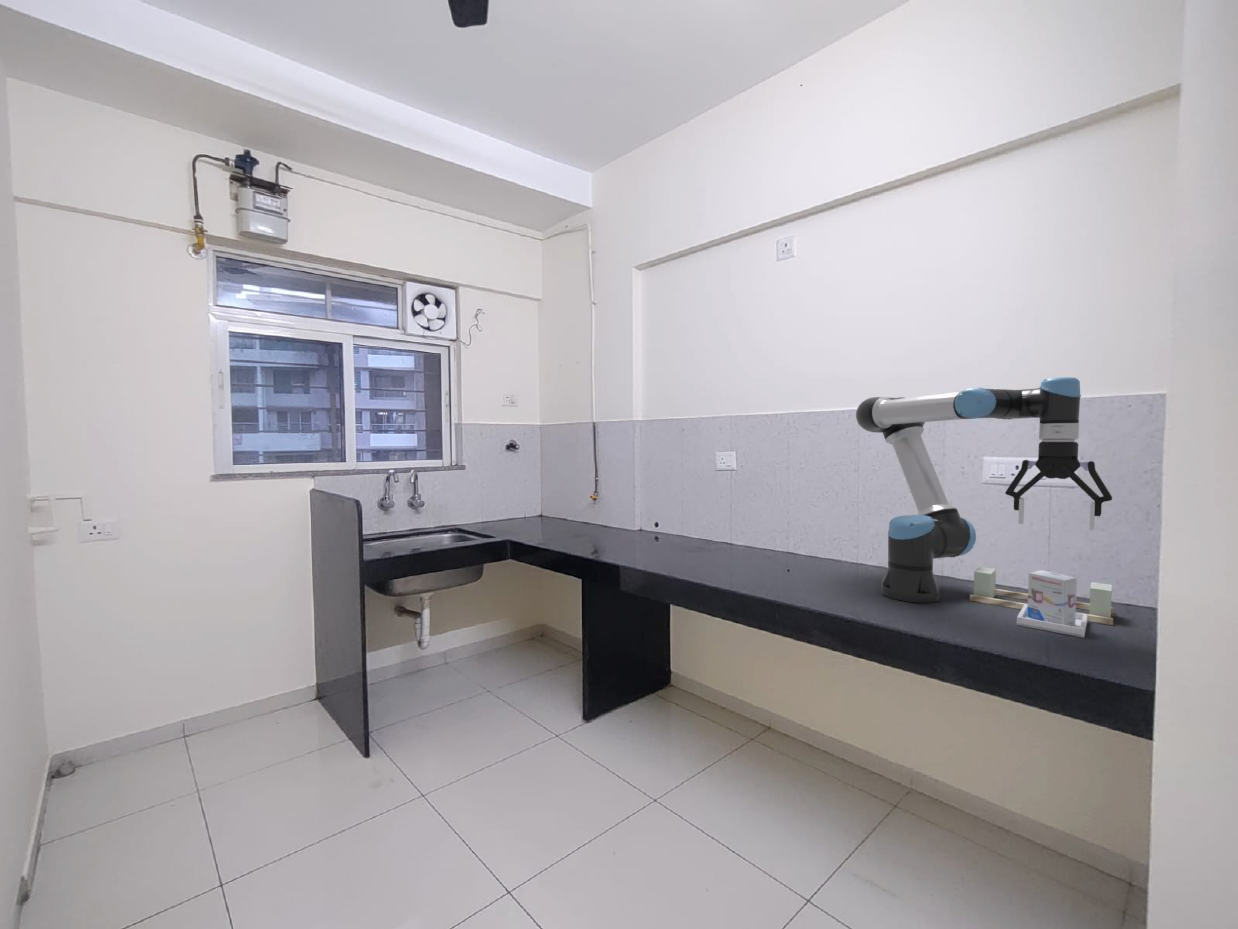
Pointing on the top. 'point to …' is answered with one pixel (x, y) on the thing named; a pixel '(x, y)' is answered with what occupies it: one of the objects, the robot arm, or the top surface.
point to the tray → (1053, 624)
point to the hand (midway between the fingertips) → (1055, 526)
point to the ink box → (1052, 597)
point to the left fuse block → (985, 582)
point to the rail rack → (1025, 596)
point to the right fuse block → (1100, 599)
